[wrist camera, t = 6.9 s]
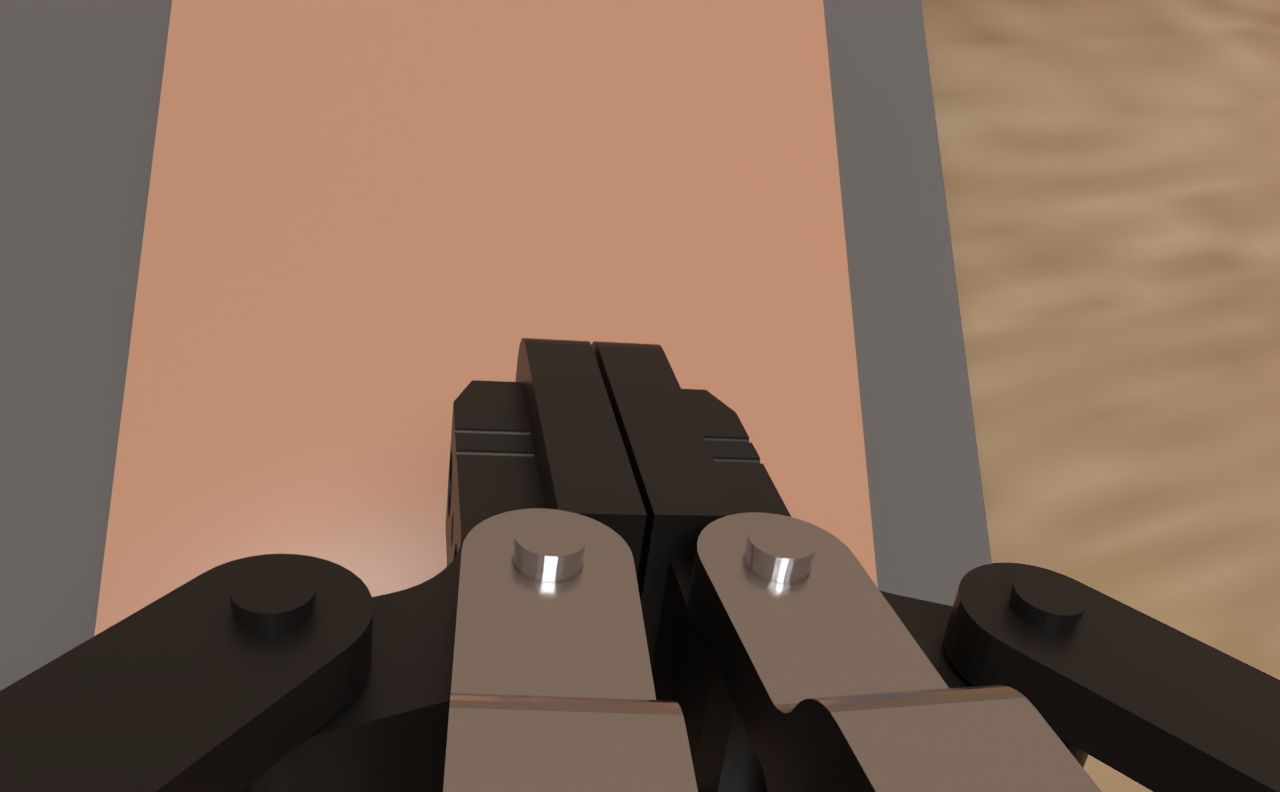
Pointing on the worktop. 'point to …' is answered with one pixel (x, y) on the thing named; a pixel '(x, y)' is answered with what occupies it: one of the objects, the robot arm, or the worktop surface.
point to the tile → (466, 260)
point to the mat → (110, 259)
